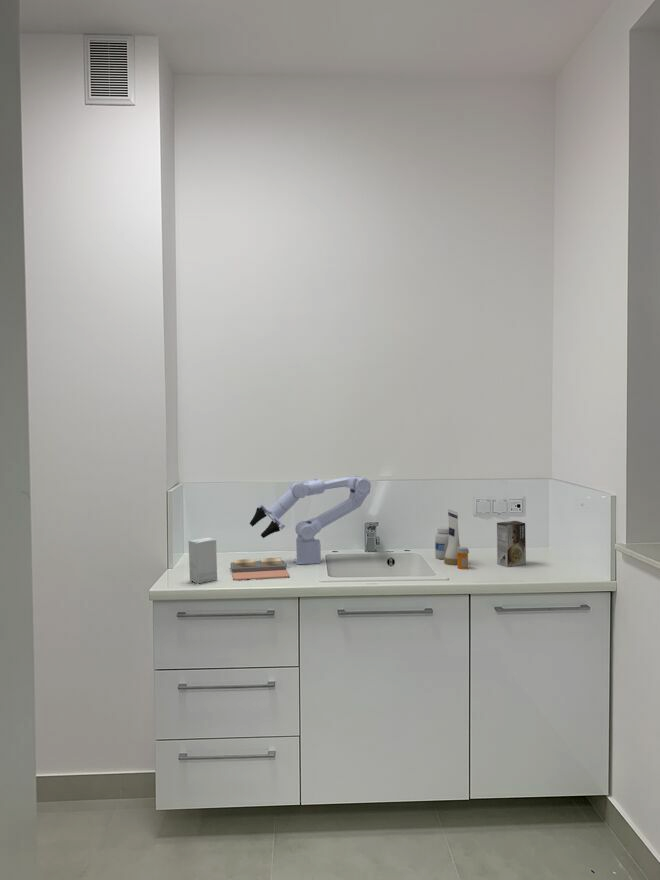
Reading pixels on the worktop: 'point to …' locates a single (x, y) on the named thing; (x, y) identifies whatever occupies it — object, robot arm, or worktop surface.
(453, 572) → the worktop surface
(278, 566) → the grey board
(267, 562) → the inner tile
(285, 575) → the mat
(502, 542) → the coffee box
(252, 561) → the outer tile
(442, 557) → the toiletry set
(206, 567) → the skincare box
